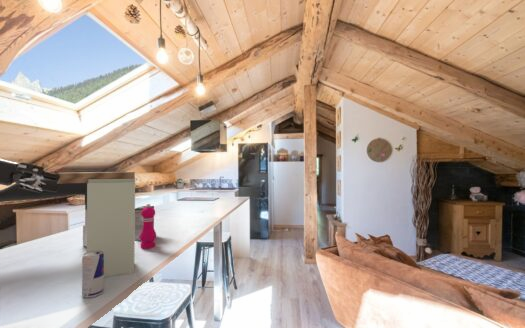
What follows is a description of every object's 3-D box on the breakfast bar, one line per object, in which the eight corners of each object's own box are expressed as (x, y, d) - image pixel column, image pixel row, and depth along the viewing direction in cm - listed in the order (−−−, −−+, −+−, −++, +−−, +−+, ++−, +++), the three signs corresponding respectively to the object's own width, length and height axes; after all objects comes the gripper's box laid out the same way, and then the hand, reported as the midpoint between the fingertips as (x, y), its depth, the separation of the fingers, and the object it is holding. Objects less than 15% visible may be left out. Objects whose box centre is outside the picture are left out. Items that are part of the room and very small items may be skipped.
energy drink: (107, 291, 79) (108, 251, 79) (91, 299, 74) (91, 257, 74) (94, 288, 80) (95, 249, 80) (77, 296, 75) (77, 255, 75)
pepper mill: (159, 244, 125) (159, 202, 125) (151, 249, 118) (151, 205, 118) (144, 244, 125) (145, 202, 126) (136, 248, 118) (136, 204, 118)
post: (86, 279, 87) (87, 179, 87) (92, 268, 96) (92, 178, 96) (133, 272, 92) (133, 179, 92) (134, 262, 101) (135, 177, 102)
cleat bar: (56, 183, 86) (56, 173, 86) (60, 182, 89) (60, 172, 89) (134, 181, 95) (134, 171, 95) (134, 180, 99) (134, 171, 99)
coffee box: (142, 235, 141) (142, 205, 141) (154, 235, 141) (154, 205, 141) (133, 240, 132) (134, 208, 132) (146, 240, 132) (146, 208, 132)
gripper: (-9, 190, 83) (52, 202, 91) (-15, 169, 73) (54, 184, 81) (3, 171, 87) (61, 184, 95) (-1, 148, 78) (64, 164, 86)
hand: (58, 184), depth 88 cm, fingers open, 8 cm apart
